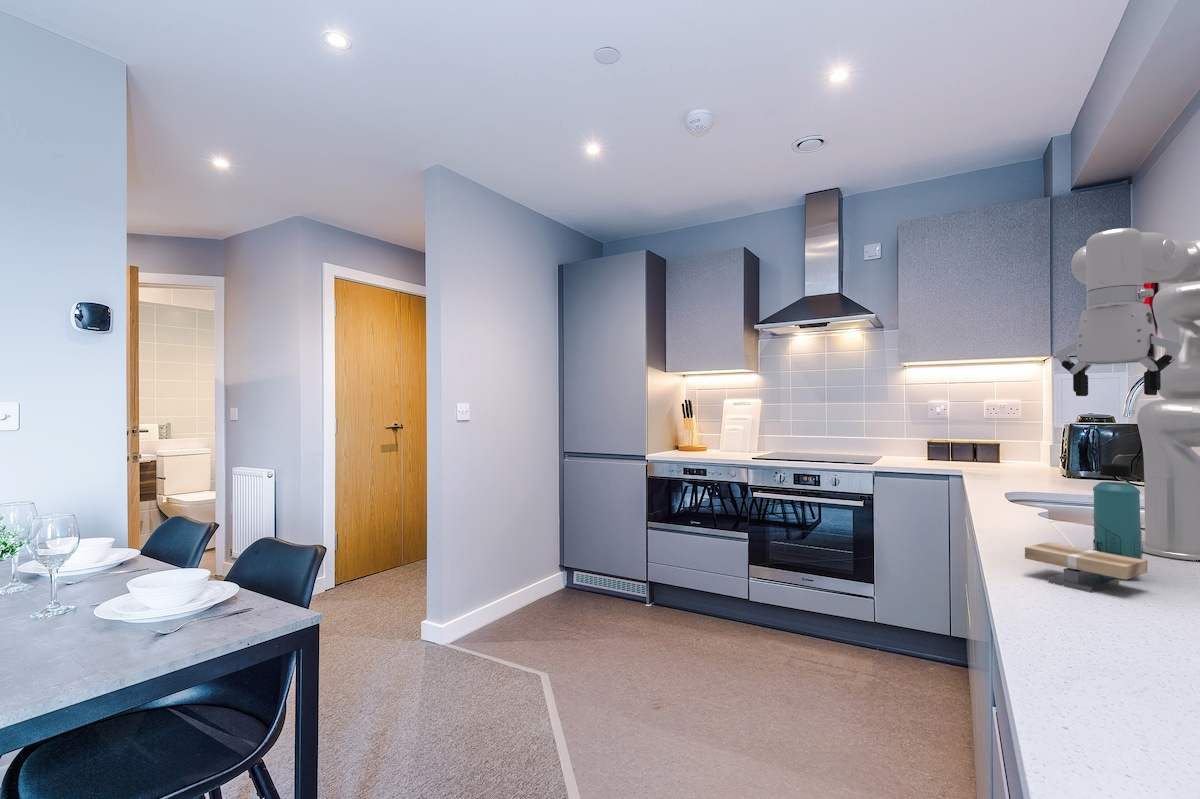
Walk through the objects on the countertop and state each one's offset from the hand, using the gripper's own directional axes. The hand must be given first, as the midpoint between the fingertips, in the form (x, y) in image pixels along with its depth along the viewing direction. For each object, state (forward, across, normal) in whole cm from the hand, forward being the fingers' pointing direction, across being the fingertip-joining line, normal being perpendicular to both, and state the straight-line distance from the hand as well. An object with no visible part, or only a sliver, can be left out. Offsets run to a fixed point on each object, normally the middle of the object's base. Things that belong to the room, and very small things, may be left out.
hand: (1114, 395), depth 101 cm
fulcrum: (+32, +1, +10) cm, 34 cm away
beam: (+29, +1, +10) cm, 31 cm away
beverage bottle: (+32, 0, 0) cm, 32 cm away
